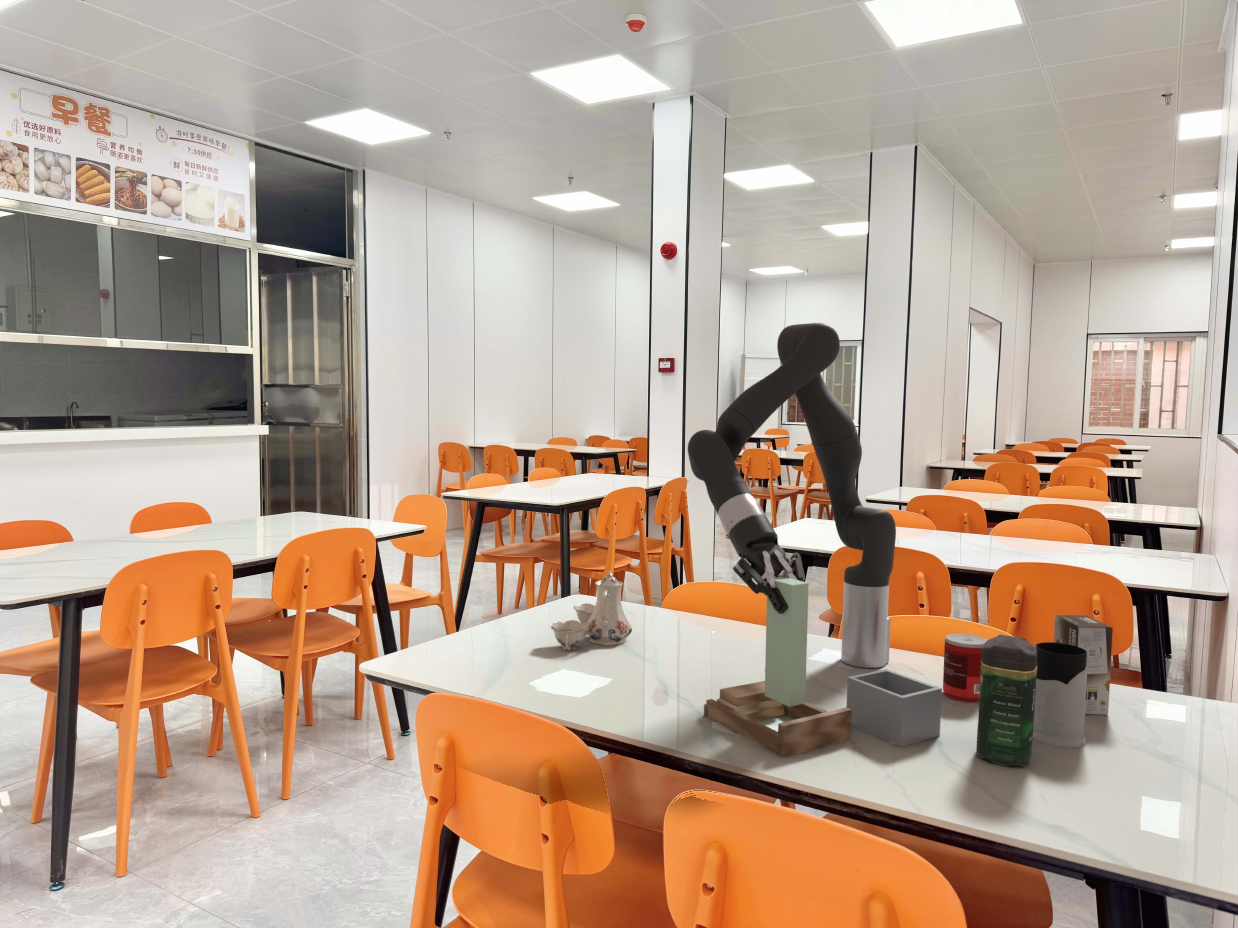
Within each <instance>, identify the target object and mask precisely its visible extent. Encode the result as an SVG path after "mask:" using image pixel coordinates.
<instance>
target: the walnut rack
mask: <svg viewBox="0 0 1238 928" xmlns="http://www.w3.org/2000/svg"><path fill="white" fill-rule="evenodd" d="M782 705H784V704H782ZM784 714H787V715H789V716H791V717H794V719H792V720H788V721H787V720H786V721H785V722H780V723H778V724H777V725H778V726H777V730H776V729H773V728H771V727H769V726H767V725H765V724H764V723H762V722H759V721H755V720H753V719H751V718H749V717H747V716H745V715H743V714H741V713H739V712H737V711H735V710H733V709H731V708H729V707H727V706H725V705H723V704H721V703H719V702H717V700H715V699H713V698H710V699H709V698H708V699H706V700H705V704H703V717H705V718H707V719H709V720H710V721H713V722H714V723H717V724H718V725H721V726H722V727H724V728H726V729H728V731H729V730H730V731H731V732H733V733H736V734H737V735H739V736H741V737H743V738H745V739H746V740H748V741H750V742H752V743H754V744H756V745H757V746H759V747H761V748H763V749H765V750H766V751H769V752H771V753H773V754H775V755H776V756H778V757H780V758H782V759H784V758H787V757H791V756H795V755H798V754H802V753H807V752H810V751H814V750H817V749H821V748H825V747H828V746H832V745H835V744H840V743H843V742H846V741H851V739H852V725H851V722H852V709H849V708H847V706H846V707H843V708H839V709H833V710H830V711H827V710H826V709H823V708H821V707H819V706H816V705H815V704H813V703H809V702H808V701H805V703H803V704H799V705H795V706H791V707H788V706H786V705H784ZM795 718H796V719H795Z"/></svg>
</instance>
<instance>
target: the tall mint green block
mask: <svg viewBox="0 0 1238 928" xmlns="http://www.w3.org/2000/svg"><path fill="white" fill-rule="evenodd" d="M774 580H775V583H776V588H778V589H779V590H780V592H781V594H782V596H783V598H784V599H785V601H786V603H787V605H788V609H787V610H786V611H785V612H784V613H783V614H779V613H778V612H777V611H776V610H775V609H774V608H773V605H772V604H771V602H770V600H769V598H768V597H767V596H766V618H765V619H766V621H765V622H766V625H765V626H766V629H765V662H764V663H765V668H764V681H765V696H767V697H769V698H771V699H773V700H775V701H778V702H780V703H782V704H784V705H786V706H788V707H791V706H795V705H799V704H803V703H805V702H806V691H807V690H806V688H807V687H806V686H807V685H806V684H807V658H808V657H807V655H808V653H807V648H808V647H807V646H808V621H809V620H808V619H809V618H808V617H809V616H808V614H809V584H810V583H809V582H806V581H799V580H795V579H792V578H787V577H774ZM767 583H768V582H767Z"/></svg>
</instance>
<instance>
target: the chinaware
mask: <svg viewBox="0 0 1238 928" xmlns="http://www.w3.org/2000/svg"><path fill="white" fill-rule="evenodd" d="M623 585H624V582H622V581H619V580H617V578H616V577H614V576H613V573H612V572H611V570H608V571H607V573H606V574H605V576H603V577H602V578H601V580H599V581H595V586H596V602H595V604H592V603H586V602H585V603H582V604H581V605H579V606H578V605H575V606H573V609H574V610H575V612H576V616H577V619H578V620H574V619H570V620H567V621H566V620H565V621H564V622H562V621H554V622H553V623H552V625H551V627H550V628H551V630H553V633H554V634H553V635H554V636H555V637H554V638H555V640H556V641H557V642H558V643H559V645H561V646H562V647H561V649H563V650H564V651H574V650H577V649H579V648H578V647H577V646H579V645H580V644H582V642H583V641H584V640H585V638H586V635H587V634H588V636H589V638H590V639H589V641H590V643H592V644H595V645H598V646H606V647H607V646H621V645H623V644H624V643H627V638H628V637H629V636H630V635H631V634H632V632H633V628H632V625H631V623H630V622H629V620H628V618H627V616H626V614H625V612H624V608H623V604H622V588H623Z"/></svg>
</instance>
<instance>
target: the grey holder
mask: <svg viewBox="0 0 1238 928" xmlns="http://www.w3.org/2000/svg"><path fill="white" fill-rule="evenodd" d="M846 686H847V689H846V707H847V708H849V709H852V722H851V727H854V728H857V729H859V730H861V731H864V732H866V733H868V734H870V735H871V736H875V737H877V738H879V739H882V740H884V741H886V742H889V743H890V744H893V745H895V746H897V747H900V748H902V747H905V746H908V745H912V744H916V743H920V742H923V741H926V740H930V739H933V738H937V737H940V736H941V719H942V718H941V715H942V696H943V695H942V692H943V687H939V686H936V685H933V684H930V683H927V682H924V681H923V680H922V681H921V680H918V679H916V678H912V677H909V676H907V675H905V674H901V673H899V672H895V671H893V670H889V669H887V668H885V669H879V670H876V671H871V672H866V673H862V674H856V675H852V676H848V677H847V685H846Z"/></svg>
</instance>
